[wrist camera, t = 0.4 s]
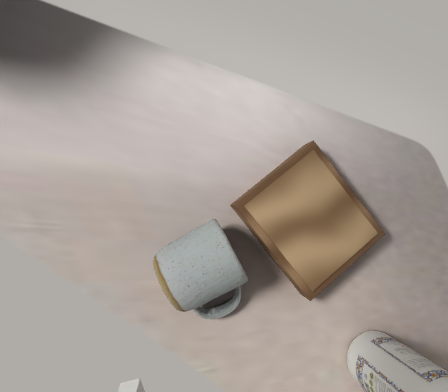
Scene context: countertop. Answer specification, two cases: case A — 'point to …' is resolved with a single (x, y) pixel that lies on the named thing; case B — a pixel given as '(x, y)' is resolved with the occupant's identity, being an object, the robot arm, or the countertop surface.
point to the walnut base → (308, 220)
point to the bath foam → (392, 366)
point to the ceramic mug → (200, 271)
